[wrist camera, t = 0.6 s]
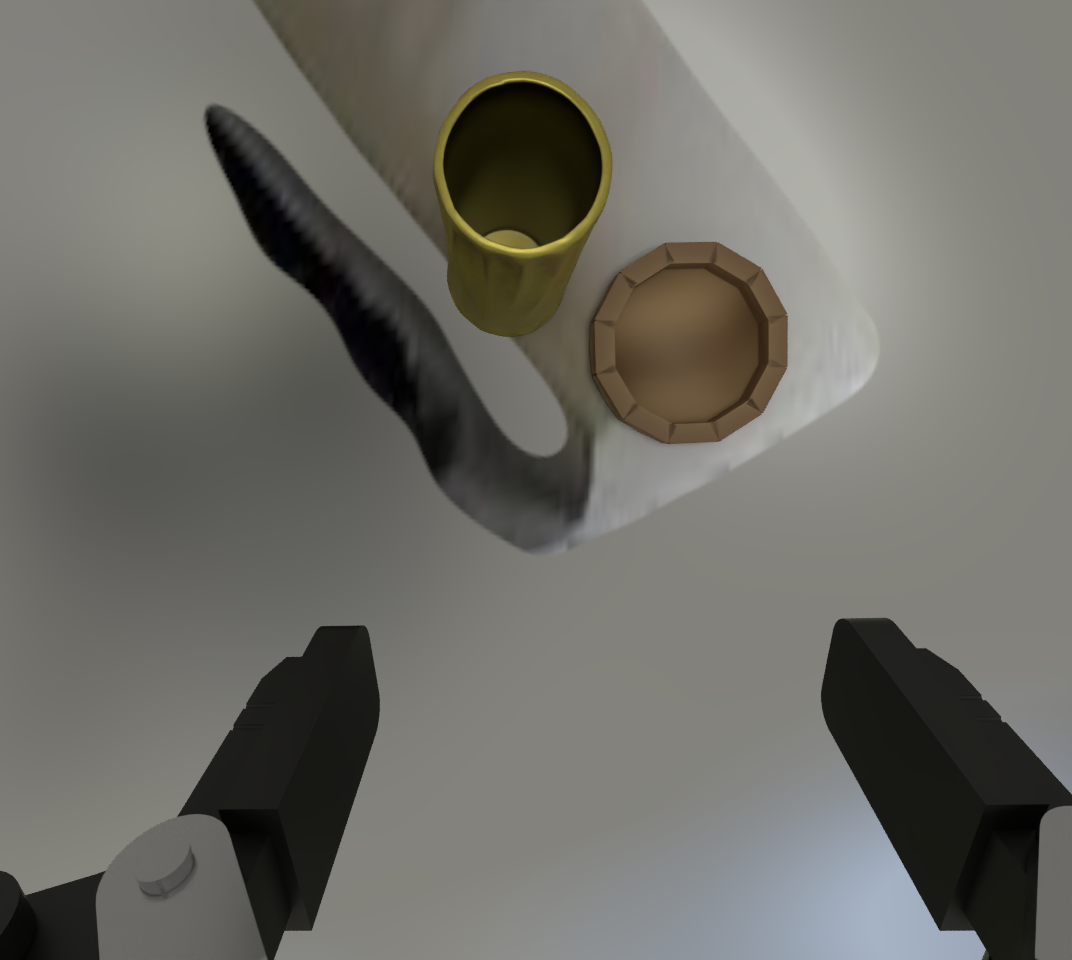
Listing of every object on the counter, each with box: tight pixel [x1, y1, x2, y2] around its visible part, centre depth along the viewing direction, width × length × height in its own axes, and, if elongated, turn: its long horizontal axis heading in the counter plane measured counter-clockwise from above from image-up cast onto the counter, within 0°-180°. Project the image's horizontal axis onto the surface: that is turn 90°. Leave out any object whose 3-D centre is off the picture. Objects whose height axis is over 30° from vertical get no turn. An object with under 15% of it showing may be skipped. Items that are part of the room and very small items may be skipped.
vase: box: [433, 71, 612, 337], centre depth 25 cm, size 6×6×14 cm
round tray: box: [589, 242, 788, 444], centre depth 32 cm, size 10×10×2 cm
